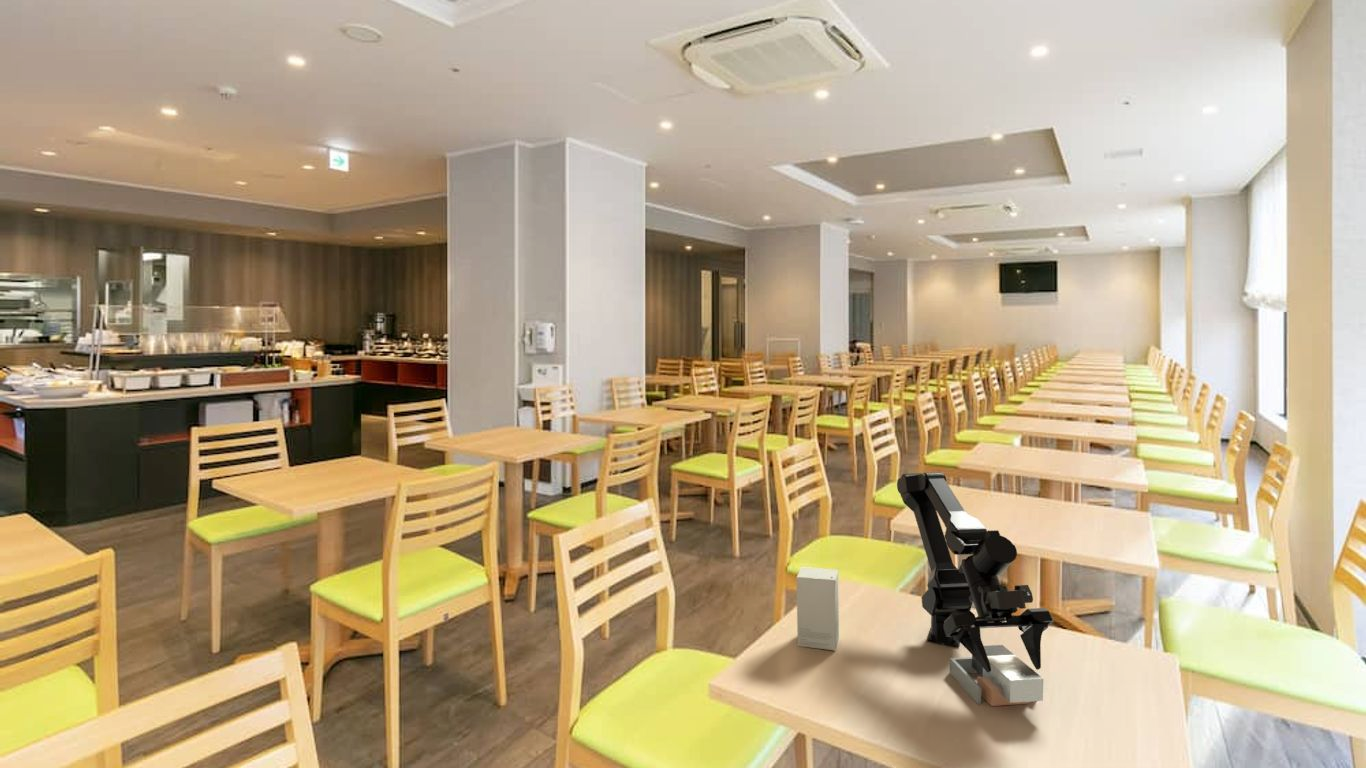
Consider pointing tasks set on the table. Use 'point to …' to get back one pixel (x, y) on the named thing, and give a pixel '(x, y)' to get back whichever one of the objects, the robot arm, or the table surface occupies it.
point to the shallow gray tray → (965, 676)
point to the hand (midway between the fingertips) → (1014, 670)
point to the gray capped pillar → (1010, 675)
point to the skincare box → (817, 608)
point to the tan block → (993, 694)
